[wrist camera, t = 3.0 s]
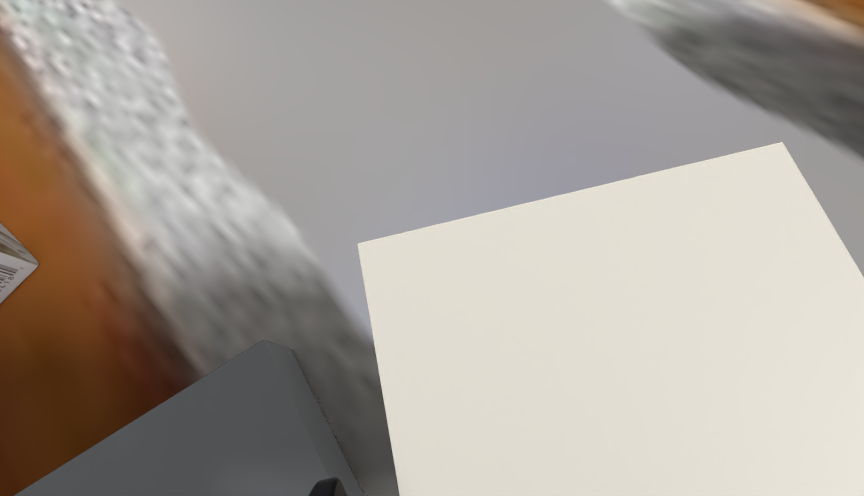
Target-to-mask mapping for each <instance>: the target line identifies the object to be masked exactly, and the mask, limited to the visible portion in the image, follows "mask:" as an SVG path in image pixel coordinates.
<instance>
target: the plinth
mask: <svg viewBox="0 0 864 496" xmlns="http://www.w3.org/2000/svg"><path fill="white" fill-rule="evenodd" d="M333 477H338V478H339V479H340V480H341V482H342V484H343V486H344V489H345V491H346V493H347V495H348V496H364V495H363V493H362V491H361V489H360V487H359V485H358V483H357V481H356V479H355V477H354V475H353V473H352V471H351V469H350V467H349V465H348V463H347V461H346V459H345V456H344V454H343V452H342V450H341V448H340V446H339V444H338V442H337V440H336V438H335V436H334V434H333V432H332V430H331V428H330V426H329V424H328V422H327V420H326V418H325V416H324V414H323V412H322V410H321V408H320V406H319V404H318V402H317V400H316V398H315V396H314V394H313V392H312V390H311V388H310V386H309V384H308V382H307V380H306V378H305V376H304V374H303V372H302V370H301V368H300V366H299V364H298V362H297V360H296V358H295V356H294V354H293V352H292V350H291V349H288V348H285V347H283V346H280V345H277V344H274V343H271V342H269V341H266V340H262V341H261V342H259V343H257V344H256V345H254V346H253V347H251V348H249V349H248V350H246V351H245V352H243V353H241V354H240V355H238V356H237V357H235V358H233V359H232V360H230V361H229V362H227V363H225V364H224V365H222V366H221V367H219V368H217V369H216V370H214V371H213V372H211V373H209V374H208V375H206V376H205V377H203V378H201V379H200V380H198V381H197V382H195V383H193V384H192V385H190V386H189V387H187V388H185V389H184V390H182V391H181V392H179V393H177V394H176V395H174V396H173V397H171V398H169V399H168V400H166V401H165V402H163V403H161V404H160V405H158V406H157V407H155V408H153V409H152V410H150V411H149V412H147V413H145V414H144V415H142V416H141V417H139V418H137V419H136V420H134V421H133V422H131V423H129V424H128V425H126V426H125V427H123V428H121V429H120V430H118V431H117V432H115V433H113V434H112V435H110V436H109V437H107V438H105V439H104V440H102V441H101V442H99V443H97V444H96V445H94V446H93V447H91V448H89V449H88V450H86V451H85V452H83V453H81V454H80V455H78V456H77V457H75V458H73V459H72V460H70V461H69V462H67V463H65V464H64V465H62V466H60V467H59V468H57V469H56V470H54V471H52V472H51V473H49V474H48V475H46V476H44V477H43V478H41V479H40V480H38V481H36V482H35V483H33V484H32V485H30V486H28V487H27V488H25V489H24V490H22V491H20V492H19V493H17V494H16V495H14V496H308V495H309V493H310V492H311V490H312V489H313V487H314V485H315V484H316V483H317V482H318V481H320V480H324V479H329V478H333Z"/></svg>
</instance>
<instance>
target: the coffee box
mask: <svg viewBox="0 0 864 496" xmlns="http://www.w3.org/2000/svg"><path fill="white" fill-rule="evenodd" d="M38 265H39V264H38V261H37V260H36V259H35V258H34V257H33V256H32V255H31V254H30V252H29V251H28V250H27V249H26V248H25V247H24V246H23V245H22V244H21V243H20V242H19V241H18V240H17V239H16V238H15V237H14V236H13V235H12V234H11V233H10V232H9V231H8V230H7V229H6V228H5V227H4V226H3V225H2V224H1V223H0V303H2V302H3V301H4V300H5V299H6V298H7V297H8V296H9V295H10V294H11V293H12V292H13V291H14V290H15V288H16V287H17V286H18V285H20V284H21V283H22V282H23V281H24V280H25V279H26V278H27V277H28V276H29V275H30V274H31V273H32V272H33V271H34V270H35V269H36V268H37V267H38Z"/></svg>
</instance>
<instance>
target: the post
mask: <svg viewBox="0 0 864 496" xmlns="http://www.w3.org/2000/svg"><path fill="white" fill-rule="evenodd" d="M358 250H359V256H360V262H361V268H362V274H363V280H364V285H365V291H366V298H367V304H368V310H369V316H370V322H371V328H372V334H373V340H374V345H375V351H376V357H377V363H378V369H379V375H380V381H381V387H382V393H383V399H384V405H385V411H386V417H387V423H388V429H389V435H390V441H391V447H392V453H393V459H394V465H395V471H396V477H397V482H398V488H399V494H400V496H864V277H863V276H862V274H861V272H860V271H859V269H858V267H857V266H856V264H855V262H854V261H853V259H852V257H851V256H850V254H849V252H848V251H847V249H846V247H845V246H844V244H843V242H842V241H841V239H840V237H839V236H838V234H837V232H836V230H835V229H834V227H833V226H832V224H831V222H830V220H829V219H828V217H827V215H826V214H825V212H824V211H823V209H822V207H821V205H820V204H819V202H818V200H817V199H816V197H815V195H814V194H813V192H812V191H811V189H810V187H809V186H808V184H807V182H806V181H805V179H804V177H803V176H802V174H801V172H800V170H799V169H798V167H797V165H796V164H795V162H794V160H793V159H792V157H791V155H790V154H789V152H788V150H787V149H786V147H785V145H784V144H783V142H779V143H775V144H771V145H767V146H763V147H758V148H754V149H750V150H746V151H742V152H738V153H733V154H729V155H725V156H721V157H717V158H712V159H708V160H704V161H700V162H696V163H692V164H688V165H683V166H679V167H675V168H671V169H667V170H663V171H658V172H654V173H650V174H646V175H642V176H637V177H634V178H630V179H625V180H621V181H617V182H612V183H608V184H604V185H601V186H596V187H592V188H588V189H583V190H579V191H575V192H571V193H567V194H563V195H558V196H554V197H550V198H546V199H542V200H537V201H533V202H529V203H525V204H521V205H516V206H513V207H508V208H504V209H500V210H496V211H492V212H487V213H483V214H479V215H475V216H471V217H466V218H463V219H458V220H454V221H450V222H446V223H442V224H437V225H433V226H429V227H425V228H420V229H417V230H412V231H408V232H404V233H400V234H396V235H391V236H387V237H383V238H379V239H375V240H370V241H366V242H362V243H358Z"/></svg>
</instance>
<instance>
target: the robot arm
mask: <svg viewBox="0 0 864 496" xmlns="http://www.w3.org/2000/svg"><path fill="white" fill-rule="evenodd" d="M308 496H348V495H347V493H346V491H345V489H344V486H343V484H342V482H341V480H340V479H339V478H338V477H333V478H329V479H324V480H320V481H318V482H317V483H316V484H315V485H314V487H313V489H312V490H311V492H310V493H309V495H308Z"/></svg>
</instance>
